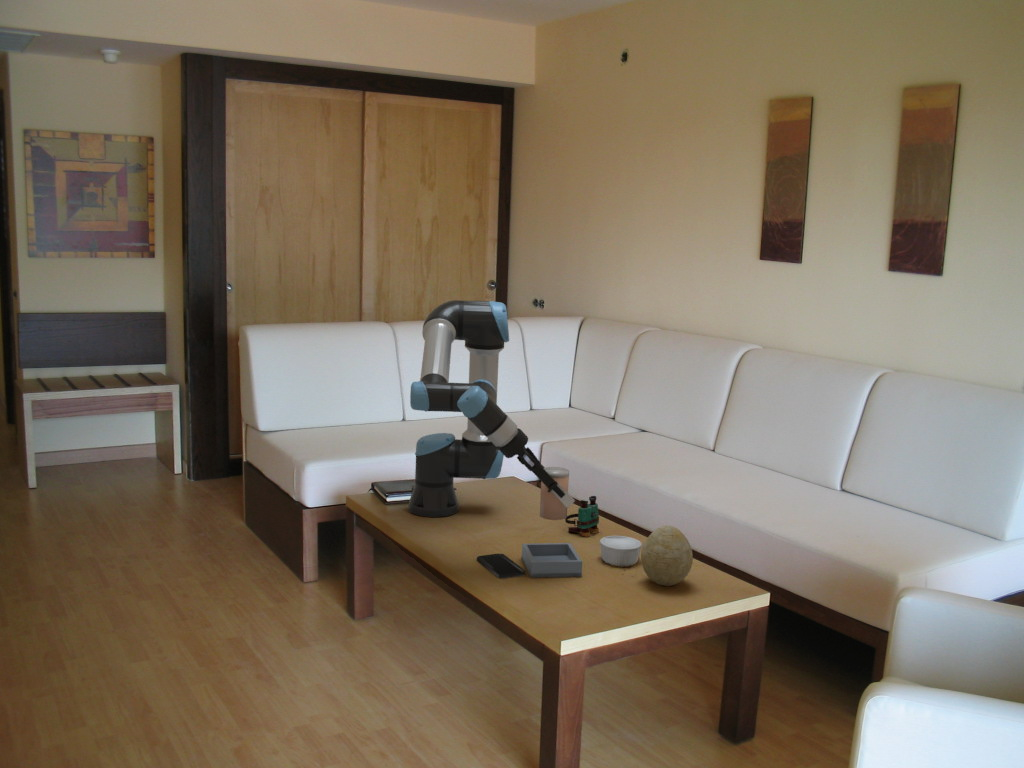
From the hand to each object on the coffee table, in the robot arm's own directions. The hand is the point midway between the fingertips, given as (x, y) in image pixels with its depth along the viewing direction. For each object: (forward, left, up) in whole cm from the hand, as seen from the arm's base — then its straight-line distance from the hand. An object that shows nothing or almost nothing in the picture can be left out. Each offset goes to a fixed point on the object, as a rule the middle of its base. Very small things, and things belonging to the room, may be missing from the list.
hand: (567, 499), depth 244 cm
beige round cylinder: (0, -4, -4) cm, 6 cm away
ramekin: (-4, +16, -18) cm, 25 cm away
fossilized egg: (+13, +23, -18) cm, 32 cm away
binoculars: (-28, +11, -18) cm, 35 cm away
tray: (0, -3, -18) cm, 19 cm away
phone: (-1, -16, -19) cm, 25 cm away
